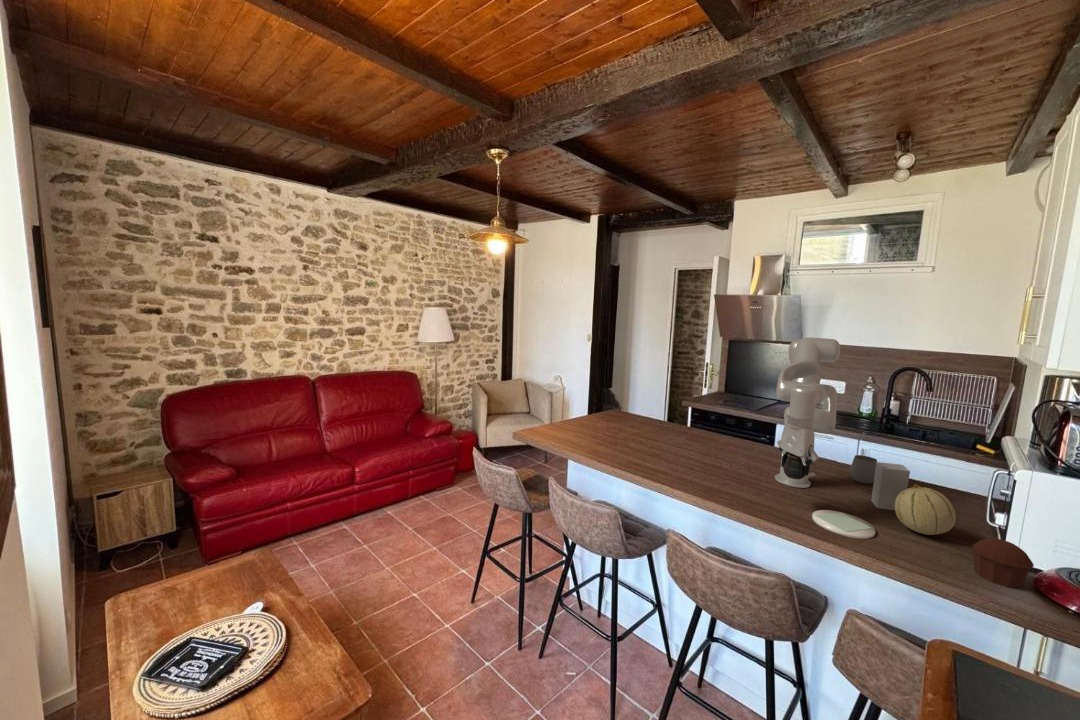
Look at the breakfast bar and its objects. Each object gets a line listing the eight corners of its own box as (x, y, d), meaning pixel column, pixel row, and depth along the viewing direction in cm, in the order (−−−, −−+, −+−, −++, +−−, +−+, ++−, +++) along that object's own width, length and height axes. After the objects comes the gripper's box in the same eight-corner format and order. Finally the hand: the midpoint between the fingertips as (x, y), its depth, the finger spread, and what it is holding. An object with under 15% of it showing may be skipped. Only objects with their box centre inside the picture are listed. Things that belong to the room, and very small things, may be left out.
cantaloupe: (957, 549, 130) (965, 501, 129) (895, 534, 138) (902, 489, 136) (944, 529, 143) (952, 485, 141) (888, 516, 151) (894, 474, 149)
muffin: (1032, 598, 109) (1039, 560, 107) (970, 578, 116) (976, 543, 115) (1024, 577, 117) (1031, 542, 116) (967, 560, 125) (973, 527, 123)
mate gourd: (794, 482, 149) (796, 454, 148) (776, 473, 156) (779, 446, 155) (811, 480, 151) (814, 452, 149) (793, 471, 158) (795, 445, 157)
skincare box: (896, 505, 160) (902, 463, 158) (905, 513, 153) (912, 470, 151) (869, 501, 163) (875, 460, 161) (876, 509, 156) (883, 466, 154)
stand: (837, 510, 153) (838, 507, 153) (888, 535, 137) (889, 531, 137) (800, 515, 148) (800, 511, 148) (847, 541, 132) (848, 537, 132)
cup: (852, 483, 180) (855, 459, 179) (846, 475, 189) (849, 453, 187) (880, 487, 176) (883, 463, 175) (872, 479, 185) (875, 456, 184)
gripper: (771, 415, 158) (766, 462, 160) (814, 430, 141) (807, 482, 144) (788, 414, 160) (782, 460, 162) (831, 428, 143) (825, 480, 146)
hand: (794, 470), depth 153 cm, fingers closed on mate gourd, 7 cm apart
